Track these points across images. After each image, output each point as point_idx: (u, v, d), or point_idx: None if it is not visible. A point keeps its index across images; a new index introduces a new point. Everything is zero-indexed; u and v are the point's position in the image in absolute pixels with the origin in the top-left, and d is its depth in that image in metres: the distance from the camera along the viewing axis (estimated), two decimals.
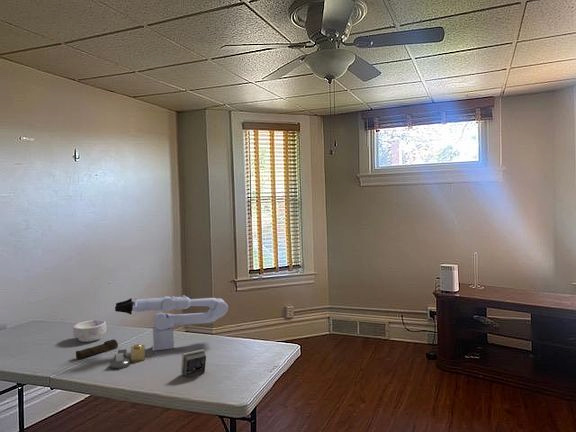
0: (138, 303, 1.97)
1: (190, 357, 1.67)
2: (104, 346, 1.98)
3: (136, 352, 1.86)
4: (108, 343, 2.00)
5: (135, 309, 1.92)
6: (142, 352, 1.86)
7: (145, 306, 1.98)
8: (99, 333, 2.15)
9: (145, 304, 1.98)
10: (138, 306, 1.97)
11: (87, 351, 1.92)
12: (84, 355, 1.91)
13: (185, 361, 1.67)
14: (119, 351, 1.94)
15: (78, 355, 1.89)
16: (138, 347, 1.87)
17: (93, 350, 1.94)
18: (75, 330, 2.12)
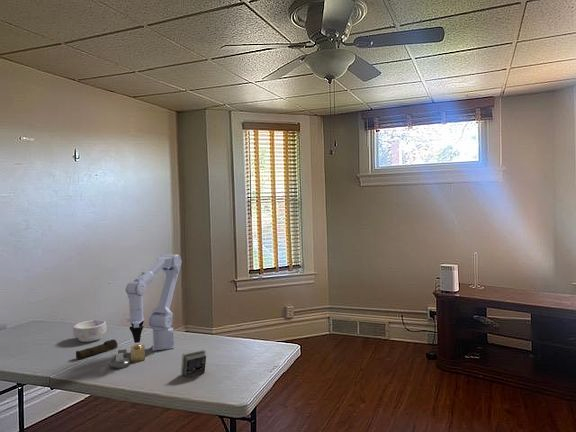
0: (133, 319, 1.85)
1: (190, 357, 1.67)
2: (104, 346, 1.98)
3: (136, 352, 1.86)
4: (108, 343, 2.00)
5: (137, 324, 1.81)
6: (142, 352, 1.86)
7: (136, 311, 1.85)
8: (99, 333, 2.15)
9: (134, 312, 1.85)
10: (136, 319, 1.85)
11: (87, 351, 1.92)
12: (84, 355, 1.91)
13: (185, 361, 1.67)
14: (119, 351, 1.94)
15: (78, 355, 1.89)
16: (138, 347, 1.87)
17: (93, 350, 1.94)
18: (75, 330, 2.12)
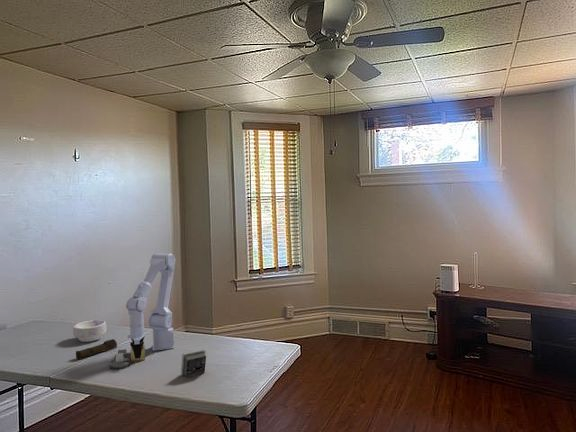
0: (133, 335, 1.86)
1: (190, 357, 1.67)
2: (104, 346, 1.99)
3: None
4: (108, 343, 2.00)
5: (137, 341, 1.82)
6: (142, 352, 1.86)
7: (136, 328, 1.86)
8: (99, 333, 2.15)
9: (135, 328, 1.85)
10: (136, 335, 1.86)
11: (87, 351, 1.92)
12: (84, 355, 1.91)
13: (185, 361, 1.67)
14: (119, 351, 1.94)
15: (78, 355, 1.89)
16: None
17: (93, 350, 1.94)
18: (75, 330, 2.12)
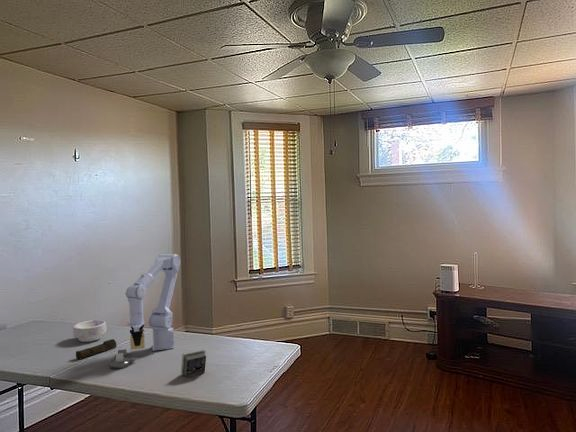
0: (133, 323, 1.85)
1: (190, 357, 1.67)
2: (103, 346, 1.99)
3: None
4: (107, 343, 2.00)
5: (137, 328, 1.81)
6: (142, 340, 1.86)
7: (136, 315, 1.85)
8: (99, 333, 2.15)
9: (134, 316, 1.85)
10: (136, 322, 1.85)
11: (87, 351, 1.92)
12: (84, 355, 1.91)
13: (185, 361, 1.67)
14: (119, 351, 1.94)
15: (78, 355, 1.89)
16: None
17: (93, 350, 1.94)
18: (75, 330, 2.12)
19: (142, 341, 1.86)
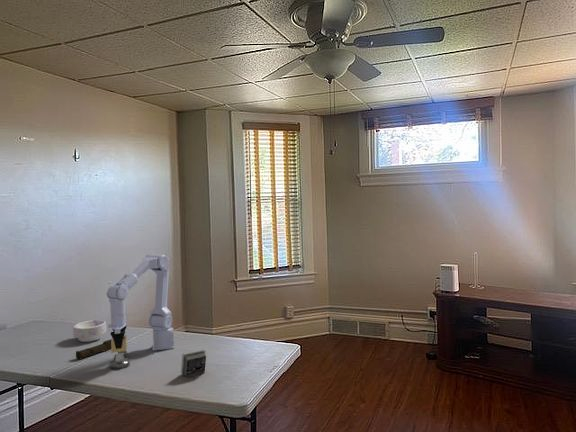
0: (114, 324, 1.78)
1: (190, 357, 1.67)
2: (103, 346, 1.99)
3: None
4: (107, 343, 2.00)
5: (118, 330, 1.74)
6: (123, 342, 1.78)
7: (117, 317, 1.78)
8: (99, 333, 2.15)
9: (115, 317, 1.77)
10: (117, 324, 1.78)
11: (87, 351, 1.92)
12: (84, 355, 1.91)
13: (185, 361, 1.67)
14: None
15: (79, 355, 1.89)
16: None
17: (93, 350, 1.94)
18: (75, 330, 2.12)
19: (124, 343, 1.79)
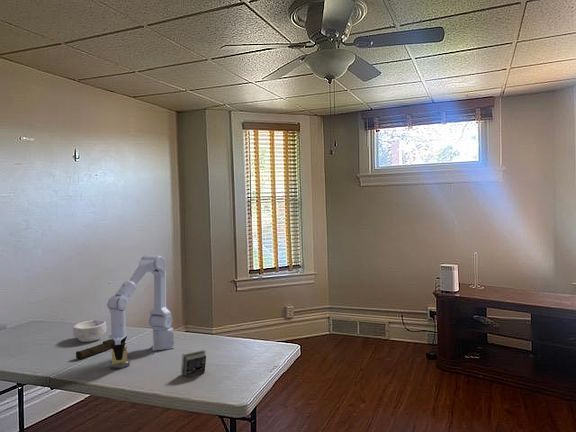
0: (114, 335, 1.78)
1: (190, 357, 1.67)
2: (103, 346, 1.99)
3: None
4: (107, 343, 2.01)
5: (118, 341, 1.74)
6: (124, 354, 1.79)
7: (118, 327, 1.78)
8: (99, 333, 2.15)
9: (116, 328, 1.78)
10: (118, 335, 1.78)
11: (87, 351, 1.92)
12: (85, 355, 1.91)
13: (185, 361, 1.67)
14: None
15: (79, 355, 1.89)
16: None
17: (93, 350, 1.94)
18: (75, 330, 2.12)
19: (124, 355, 1.79)
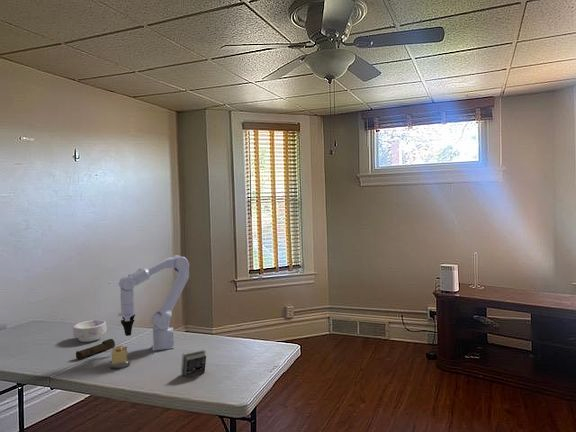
0: (124, 313, 1.92)
1: (190, 357, 1.67)
2: (103, 345, 1.99)
3: (117, 354, 1.78)
4: (106, 342, 2.01)
5: (128, 318, 1.88)
6: (124, 354, 1.79)
7: (127, 306, 1.92)
8: (99, 333, 2.15)
9: (125, 306, 1.92)
10: (127, 313, 1.92)
11: (87, 351, 1.92)
12: (85, 355, 1.91)
13: (185, 361, 1.67)
14: None
15: (79, 355, 1.89)
16: (119, 349, 1.79)
17: (93, 350, 1.94)
18: (75, 330, 2.12)
19: (124, 355, 1.79)
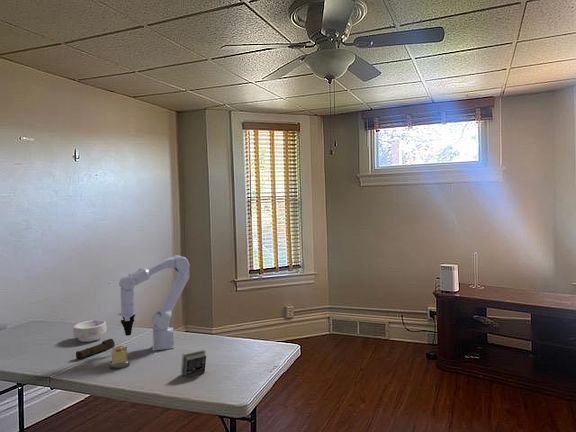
0: (124, 312, 1.93)
1: (190, 357, 1.67)
2: (103, 345, 1.99)
3: (117, 354, 1.78)
4: (106, 342, 2.01)
5: (128, 318, 1.89)
6: (124, 354, 1.79)
7: (127, 305, 1.93)
8: (99, 333, 2.15)
9: (125, 306, 1.93)
10: (127, 312, 1.93)
11: (87, 351, 1.92)
12: (85, 355, 1.91)
13: (185, 361, 1.67)
14: None
15: (79, 355, 1.89)
16: (119, 349, 1.79)
17: (93, 350, 1.94)
18: (75, 330, 2.12)
19: (124, 355, 1.79)
